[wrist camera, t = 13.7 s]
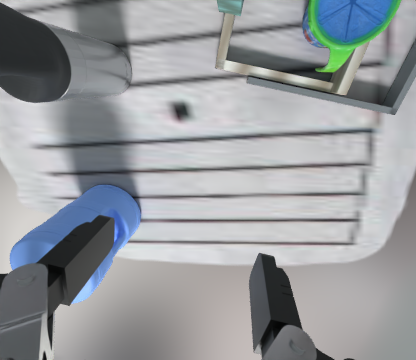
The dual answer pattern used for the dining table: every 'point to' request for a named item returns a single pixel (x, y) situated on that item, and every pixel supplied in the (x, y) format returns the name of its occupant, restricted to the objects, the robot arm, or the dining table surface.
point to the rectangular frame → (410, 69)
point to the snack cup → (345, 25)
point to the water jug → (76, 215)
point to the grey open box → (339, 83)
